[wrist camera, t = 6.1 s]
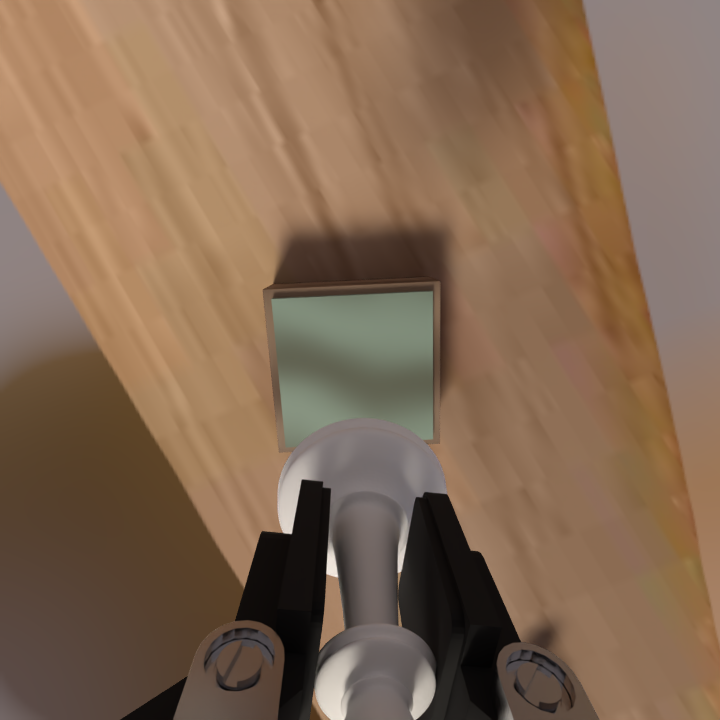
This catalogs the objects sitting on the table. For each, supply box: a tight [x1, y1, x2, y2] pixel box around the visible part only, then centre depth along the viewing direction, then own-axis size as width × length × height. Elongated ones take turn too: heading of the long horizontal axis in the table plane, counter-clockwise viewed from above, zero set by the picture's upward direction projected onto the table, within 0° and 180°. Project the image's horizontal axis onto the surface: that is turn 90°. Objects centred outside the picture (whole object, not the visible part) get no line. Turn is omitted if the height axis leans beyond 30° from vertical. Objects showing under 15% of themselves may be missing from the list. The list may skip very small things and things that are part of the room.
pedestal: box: [263, 277, 440, 452], centre depth 27 cm, size 10×10×4 cm
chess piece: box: [278, 418, 447, 720], centre depth 8 cm, size 5×5×10 cm
